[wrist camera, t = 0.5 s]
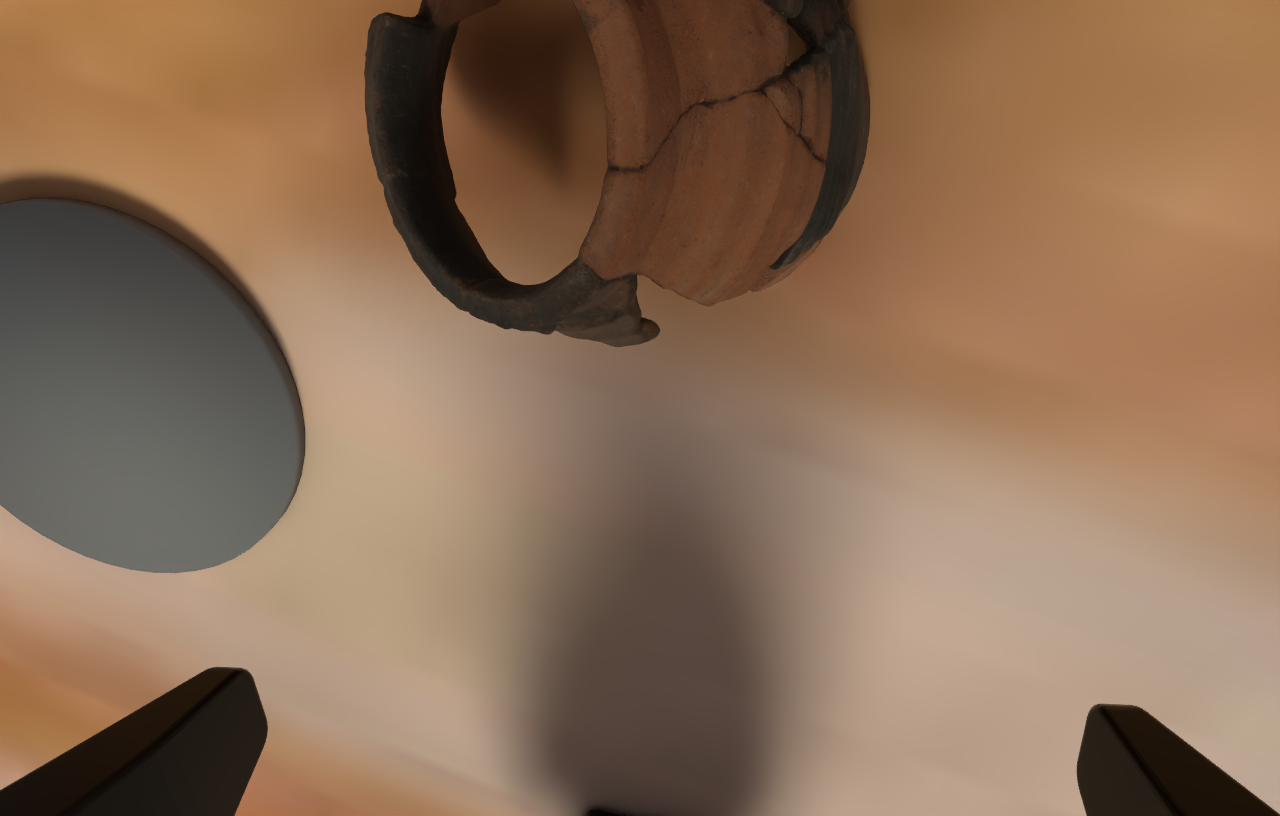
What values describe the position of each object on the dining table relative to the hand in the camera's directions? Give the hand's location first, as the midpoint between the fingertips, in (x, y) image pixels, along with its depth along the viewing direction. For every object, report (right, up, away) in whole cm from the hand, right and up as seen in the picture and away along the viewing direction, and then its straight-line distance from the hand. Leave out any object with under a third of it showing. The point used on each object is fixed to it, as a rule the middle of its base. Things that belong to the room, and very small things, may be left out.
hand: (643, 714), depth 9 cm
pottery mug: (+1, +11, +10) cm, 15 cm away
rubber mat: (-16, +4, +16) cm, 23 cm away
